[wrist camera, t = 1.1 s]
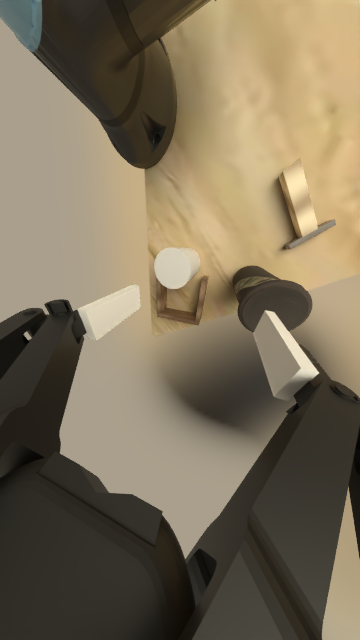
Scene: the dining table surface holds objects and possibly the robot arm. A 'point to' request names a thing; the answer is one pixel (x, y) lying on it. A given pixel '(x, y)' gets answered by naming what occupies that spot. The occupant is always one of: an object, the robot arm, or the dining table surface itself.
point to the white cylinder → (176, 266)
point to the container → (269, 298)
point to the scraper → (300, 205)
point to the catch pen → (178, 314)
